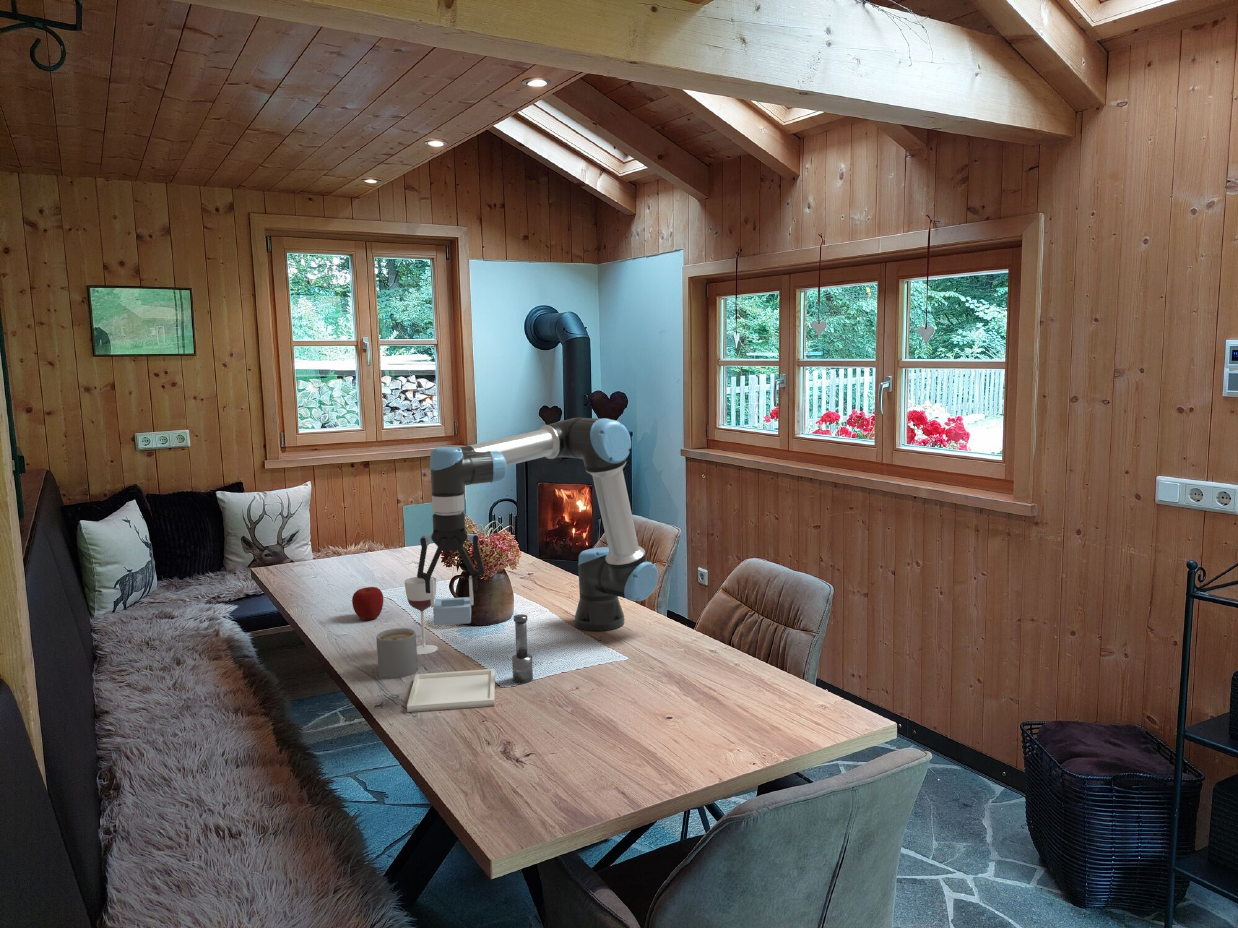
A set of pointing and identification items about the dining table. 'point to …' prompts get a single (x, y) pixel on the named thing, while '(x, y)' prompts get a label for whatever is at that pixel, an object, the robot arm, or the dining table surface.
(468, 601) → the ring
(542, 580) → the dining table surface
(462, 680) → the tray
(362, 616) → the apple
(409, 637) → the coffee mug
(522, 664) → the pestle
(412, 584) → the wineglass
